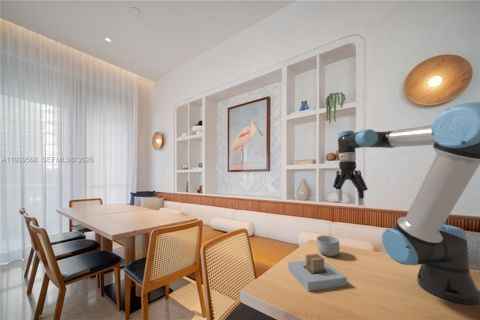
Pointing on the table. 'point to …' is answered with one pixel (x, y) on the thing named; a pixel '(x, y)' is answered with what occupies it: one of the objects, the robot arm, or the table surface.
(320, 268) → the peg
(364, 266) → the table surface
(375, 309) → the table surface
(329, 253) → the teacup
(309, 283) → the housing
